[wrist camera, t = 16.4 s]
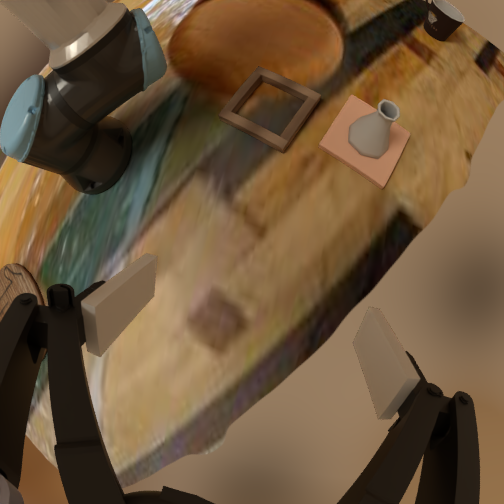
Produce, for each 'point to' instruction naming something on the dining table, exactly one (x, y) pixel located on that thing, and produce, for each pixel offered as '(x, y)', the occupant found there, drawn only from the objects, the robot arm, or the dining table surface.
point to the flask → (374, 130)
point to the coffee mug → (442, 19)
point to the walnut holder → (257, 131)
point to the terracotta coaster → (346, 153)
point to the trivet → (16, 287)
